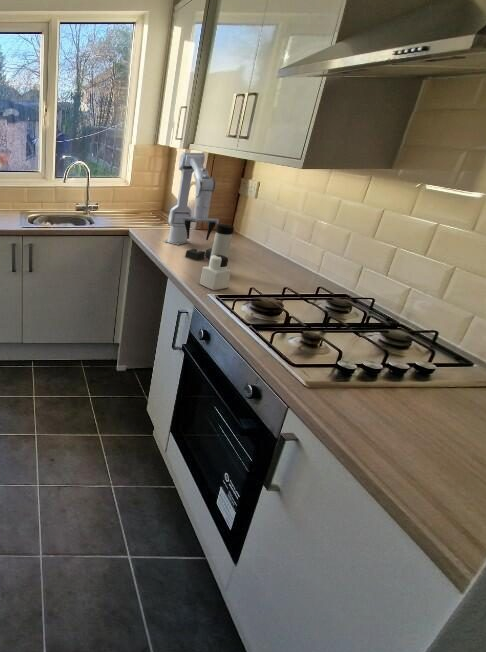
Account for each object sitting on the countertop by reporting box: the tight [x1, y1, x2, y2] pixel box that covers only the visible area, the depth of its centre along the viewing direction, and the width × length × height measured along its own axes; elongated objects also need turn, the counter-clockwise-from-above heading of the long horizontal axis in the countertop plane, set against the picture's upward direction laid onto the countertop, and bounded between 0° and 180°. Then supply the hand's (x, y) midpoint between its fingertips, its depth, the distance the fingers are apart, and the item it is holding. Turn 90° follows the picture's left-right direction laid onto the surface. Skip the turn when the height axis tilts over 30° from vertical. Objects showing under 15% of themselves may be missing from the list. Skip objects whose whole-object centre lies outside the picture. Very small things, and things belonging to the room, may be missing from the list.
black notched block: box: [185, 248, 206, 261], centre depth 190 cm, size 6×6×3 cm
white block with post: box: [199, 255, 232, 291], centre depth 156 cm, size 7×7×12 cm
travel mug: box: [211, 223, 235, 258], centre depth 169 cm, size 6×7×20 cm
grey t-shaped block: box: [204, 247, 213, 259], centre depth 191 cm, size 6×5×3 cm
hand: (197, 239), depth 182 cm, fingers open, 7 cm apart
